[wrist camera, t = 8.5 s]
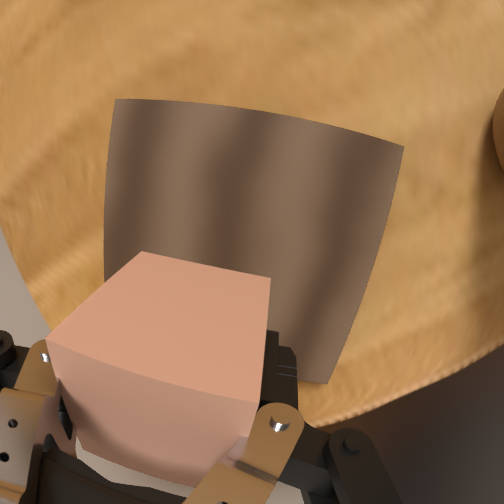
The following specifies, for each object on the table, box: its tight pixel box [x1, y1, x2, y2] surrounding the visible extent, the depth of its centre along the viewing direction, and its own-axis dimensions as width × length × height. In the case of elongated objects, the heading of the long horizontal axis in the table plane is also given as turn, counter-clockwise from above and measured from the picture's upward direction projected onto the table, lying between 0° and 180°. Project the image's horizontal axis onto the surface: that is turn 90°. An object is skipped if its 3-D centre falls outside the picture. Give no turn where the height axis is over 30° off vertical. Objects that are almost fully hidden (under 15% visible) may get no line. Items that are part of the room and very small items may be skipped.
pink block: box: [45, 251, 271, 488], centre depth 9 cm, size 5×5×6 cm
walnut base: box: [104, 99, 404, 384], centre depth 20 cm, size 18×18×3 cm
